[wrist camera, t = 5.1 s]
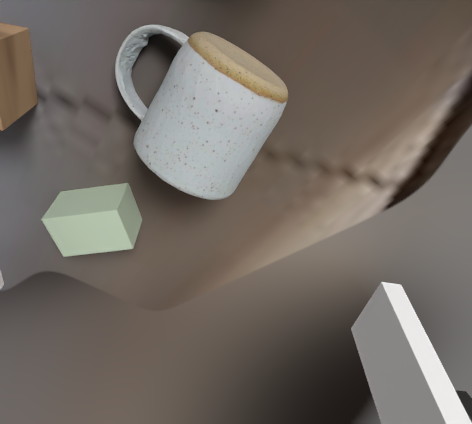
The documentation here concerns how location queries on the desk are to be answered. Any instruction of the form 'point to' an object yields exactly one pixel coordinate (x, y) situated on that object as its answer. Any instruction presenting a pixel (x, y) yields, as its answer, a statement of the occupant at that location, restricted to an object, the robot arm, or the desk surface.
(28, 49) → the walnut block
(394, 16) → the desk surface
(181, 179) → the ceramic mug
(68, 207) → the sage green block
